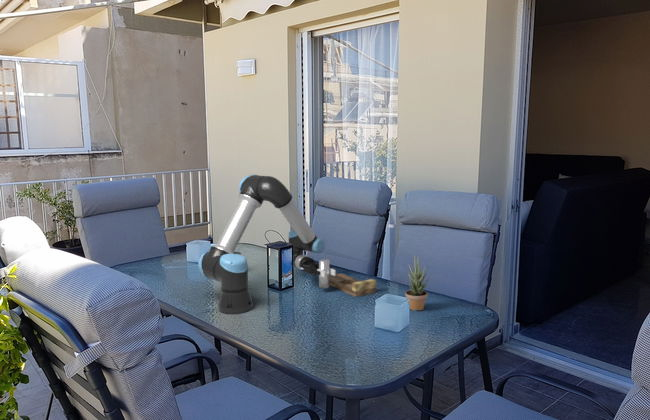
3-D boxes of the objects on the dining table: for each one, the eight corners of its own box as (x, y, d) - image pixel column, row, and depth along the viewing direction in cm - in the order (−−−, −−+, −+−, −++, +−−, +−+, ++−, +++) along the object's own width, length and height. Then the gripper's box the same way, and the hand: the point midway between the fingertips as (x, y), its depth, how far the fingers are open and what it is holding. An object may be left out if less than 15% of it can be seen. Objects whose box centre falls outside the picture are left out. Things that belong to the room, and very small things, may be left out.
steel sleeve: (322, 288, 247) (322, 262, 245) (317, 286, 251) (316, 259, 249) (331, 287, 250) (331, 260, 248) (325, 284, 254) (325, 258, 252)
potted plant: (413, 303, 232) (414, 249, 228) (431, 308, 225) (432, 253, 222) (400, 309, 225) (400, 253, 221) (418, 314, 219) (419, 257, 215)
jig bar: (355, 296, 242) (355, 284, 242) (321, 281, 268) (321, 270, 267) (376, 292, 249) (376, 280, 248) (341, 277, 274) (341, 266, 273)
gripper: (320, 268, 270) (345, 278, 250) (289, 273, 260) (313, 284, 241) (320, 254, 269) (345, 263, 249) (289, 258, 259) (313, 268, 240)
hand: (330, 273), depth 245 cm, fingers closed on steel sleeve, 5 cm apart
